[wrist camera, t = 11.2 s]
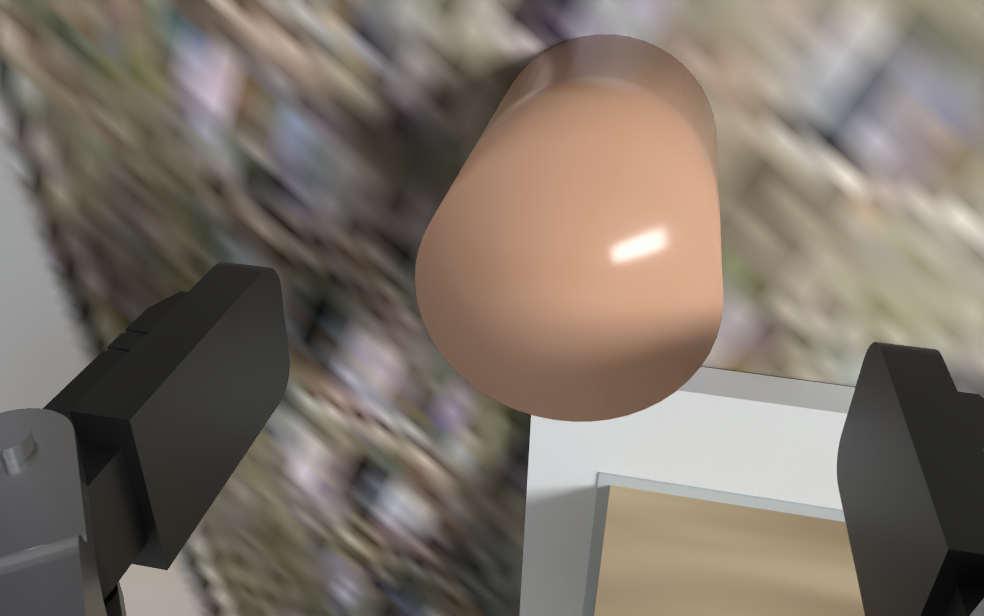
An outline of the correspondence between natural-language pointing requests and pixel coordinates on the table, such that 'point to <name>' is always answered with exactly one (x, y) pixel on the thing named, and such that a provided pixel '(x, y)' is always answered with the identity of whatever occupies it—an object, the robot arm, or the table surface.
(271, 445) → the table surface
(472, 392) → the table surface
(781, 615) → the oak base block
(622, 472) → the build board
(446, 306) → the peach rounded cylinder
